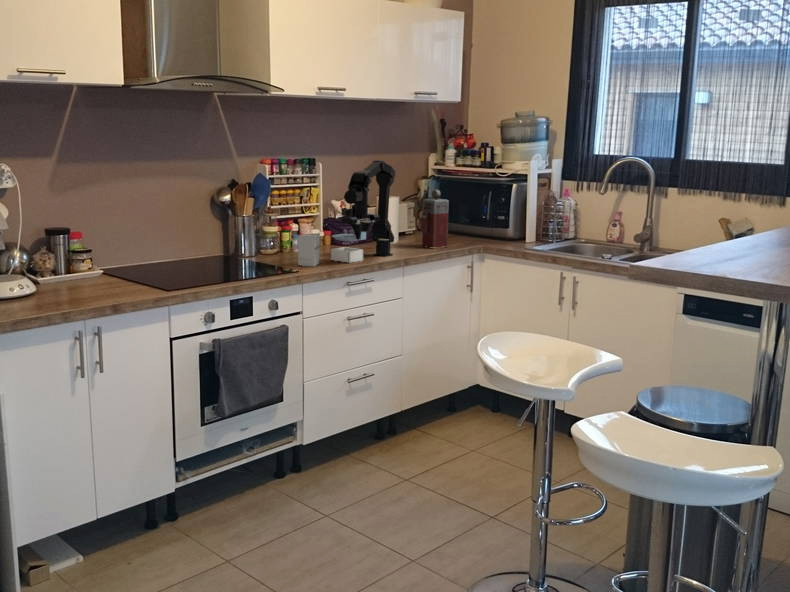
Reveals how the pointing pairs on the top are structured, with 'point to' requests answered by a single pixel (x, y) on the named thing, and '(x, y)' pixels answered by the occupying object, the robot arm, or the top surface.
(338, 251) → the tub
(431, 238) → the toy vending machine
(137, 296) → the top surface
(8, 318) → the top surface
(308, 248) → the supplement box
